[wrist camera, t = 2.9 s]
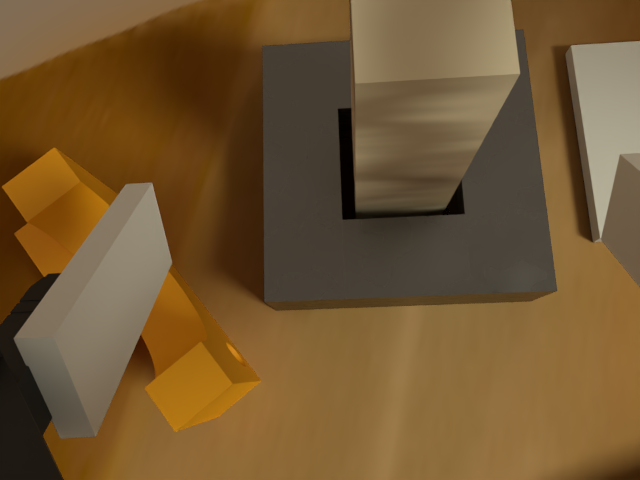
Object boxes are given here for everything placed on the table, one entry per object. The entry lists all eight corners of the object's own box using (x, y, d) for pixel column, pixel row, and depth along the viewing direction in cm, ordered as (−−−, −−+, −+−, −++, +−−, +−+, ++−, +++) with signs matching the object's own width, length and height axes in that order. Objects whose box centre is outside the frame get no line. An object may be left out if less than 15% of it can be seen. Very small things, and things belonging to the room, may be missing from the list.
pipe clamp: (51, 248, 28) (-35, 214, 22) (120, 196, 29) (54, 147, 22) (188, 441, 26) (135, 465, 19) (261, 380, 26) (232, 383, 20)
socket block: (503, 69, 29) (523, 29, 25) (530, 301, 26) (557, 290, 22) (273, 83, 29) (262, 46, 26) (276, 310, 27) (264, 301, 23)
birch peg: (431, 146, 28) (502, -66, 14) (437, 222, 27) (519, 73, 13) (352, 150, 28) (348, -54, 15) (355, 226, 27) (355, 83, 14)
